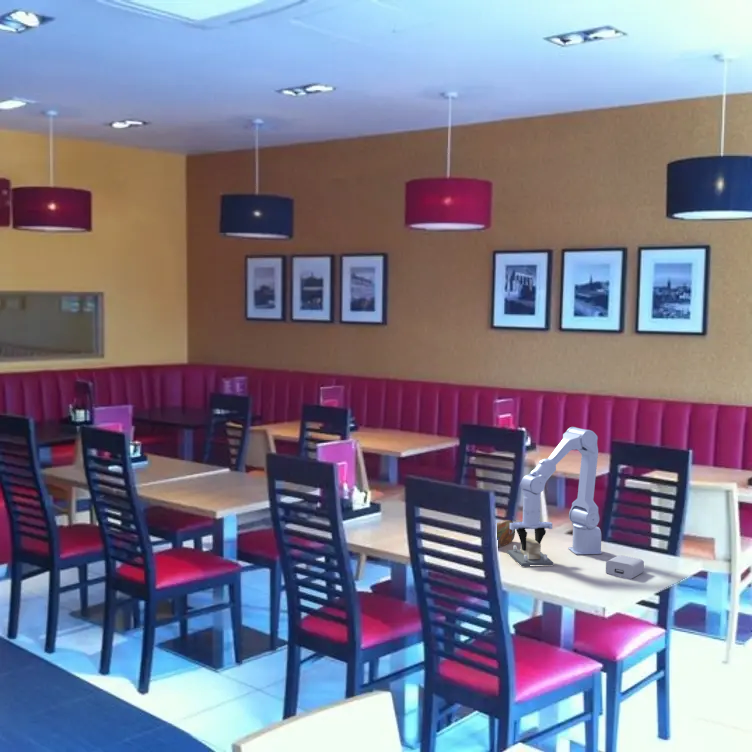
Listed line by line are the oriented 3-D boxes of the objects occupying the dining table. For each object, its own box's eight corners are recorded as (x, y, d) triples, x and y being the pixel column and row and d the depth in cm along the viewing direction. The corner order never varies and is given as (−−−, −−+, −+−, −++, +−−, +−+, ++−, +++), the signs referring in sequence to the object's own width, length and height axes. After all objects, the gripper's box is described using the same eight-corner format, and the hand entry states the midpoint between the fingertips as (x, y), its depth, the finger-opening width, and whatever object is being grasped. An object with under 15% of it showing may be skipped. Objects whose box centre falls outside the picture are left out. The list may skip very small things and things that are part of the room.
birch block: (531, 551, 320) (532, 537, 320) (540, 559, 311) (540, 544, 311) (520, 552, 319) (521, 537, 319) (528, 559, 310) (529, 544, 310)
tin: (495, 549, 328) (495, 526, 327) (487, 548, 330) (487, 524, 329) (515, 541, 340) (516, 518, 339) (508, 539, 342) (508, 517, 341)
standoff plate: (537, 552, 324) (538, 543, 324) (553, 565, 309) (553, 556, 308) (507, 553, 323) (507, 544, 322) (521, 566, 307) (521, 557, 307)
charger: (650, 569, 307) (632, 579, 295) (624, 564, 313) (605, 574, 301) (651, 555, 307) (633, 565, 295) (624, 550, 312) (606, 559, 301)
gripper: (514, 513, 309) (513, 553, 310) (556, 512, 311) (554, 552, 312) (508, 508, 316) (506, 547, 317) (548, 508, 318) (547, 546, 319)
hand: (530, 549), depth 315 cm, fingers closed on birch block, 4 cm apart
